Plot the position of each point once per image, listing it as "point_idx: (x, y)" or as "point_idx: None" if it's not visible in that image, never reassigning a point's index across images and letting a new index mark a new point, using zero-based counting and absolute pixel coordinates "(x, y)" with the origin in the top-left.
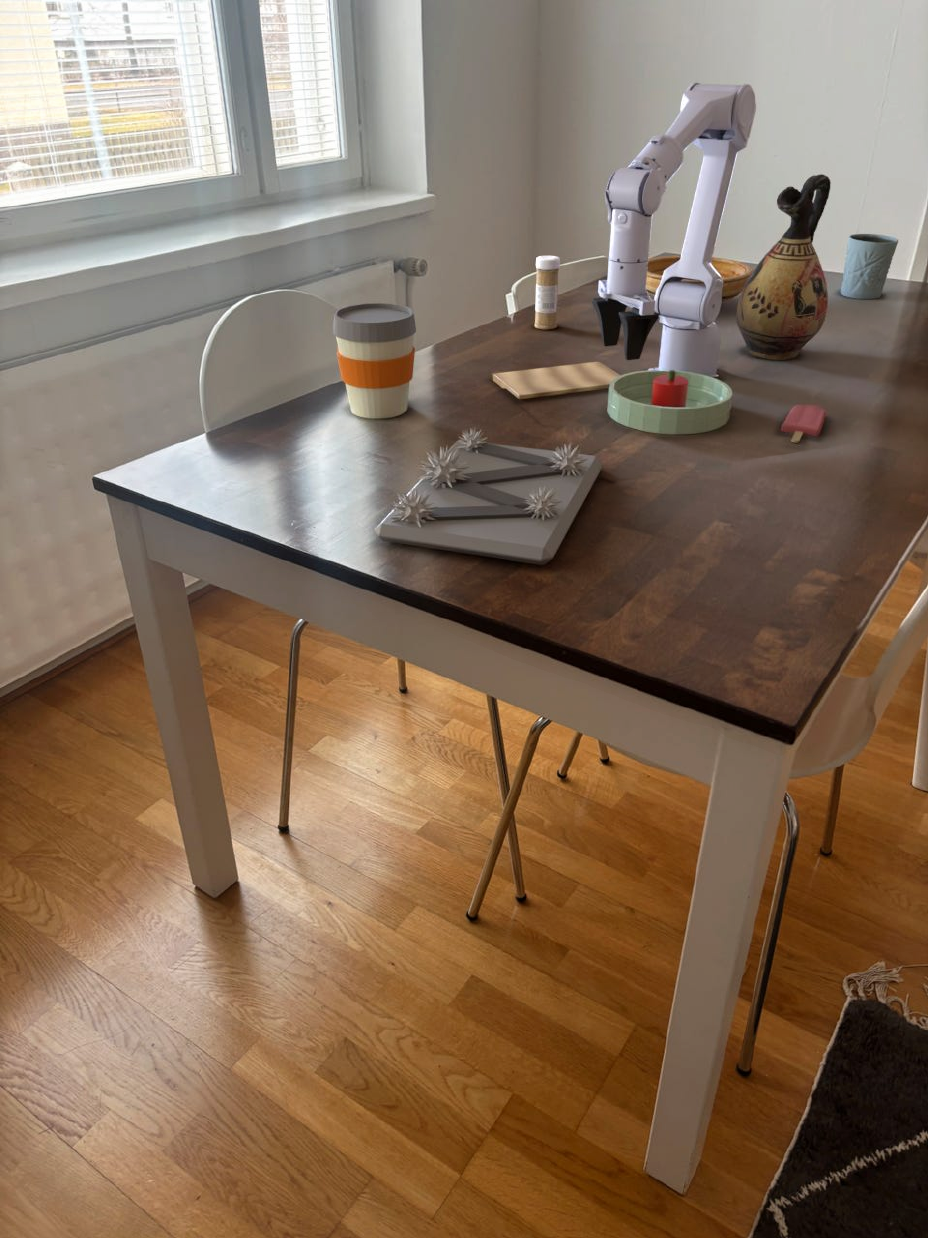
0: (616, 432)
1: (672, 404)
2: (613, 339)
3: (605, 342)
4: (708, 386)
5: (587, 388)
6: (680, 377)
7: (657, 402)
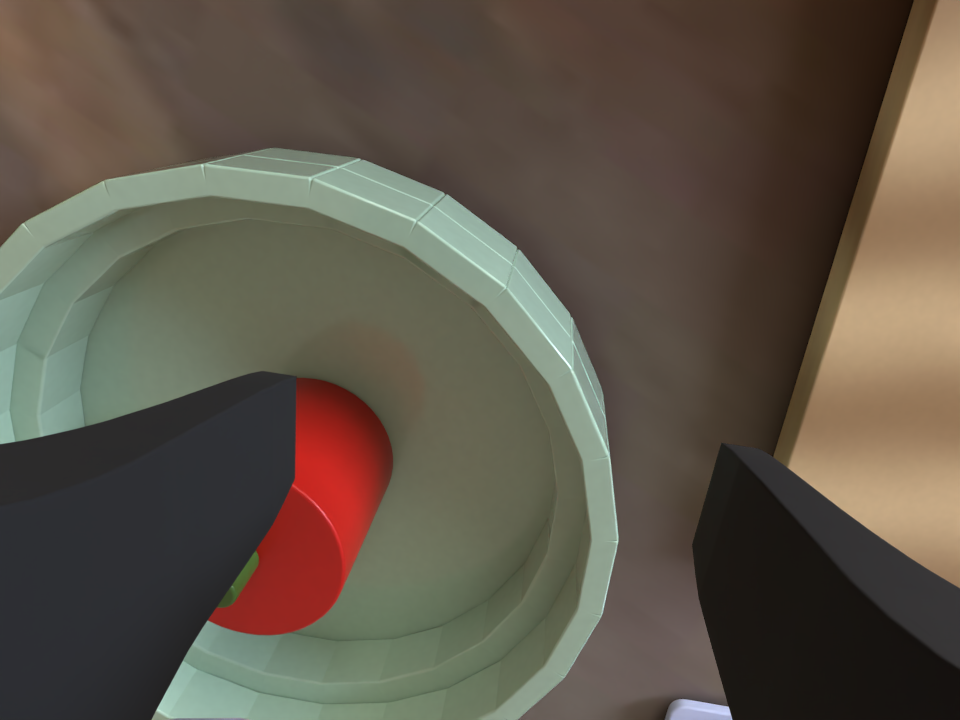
0: (208, 90)
1: None
2: (711, 548)
3: (727, 462)
4: (348, 717)
5: (834, 307)
6: (266, 618)
7: None
